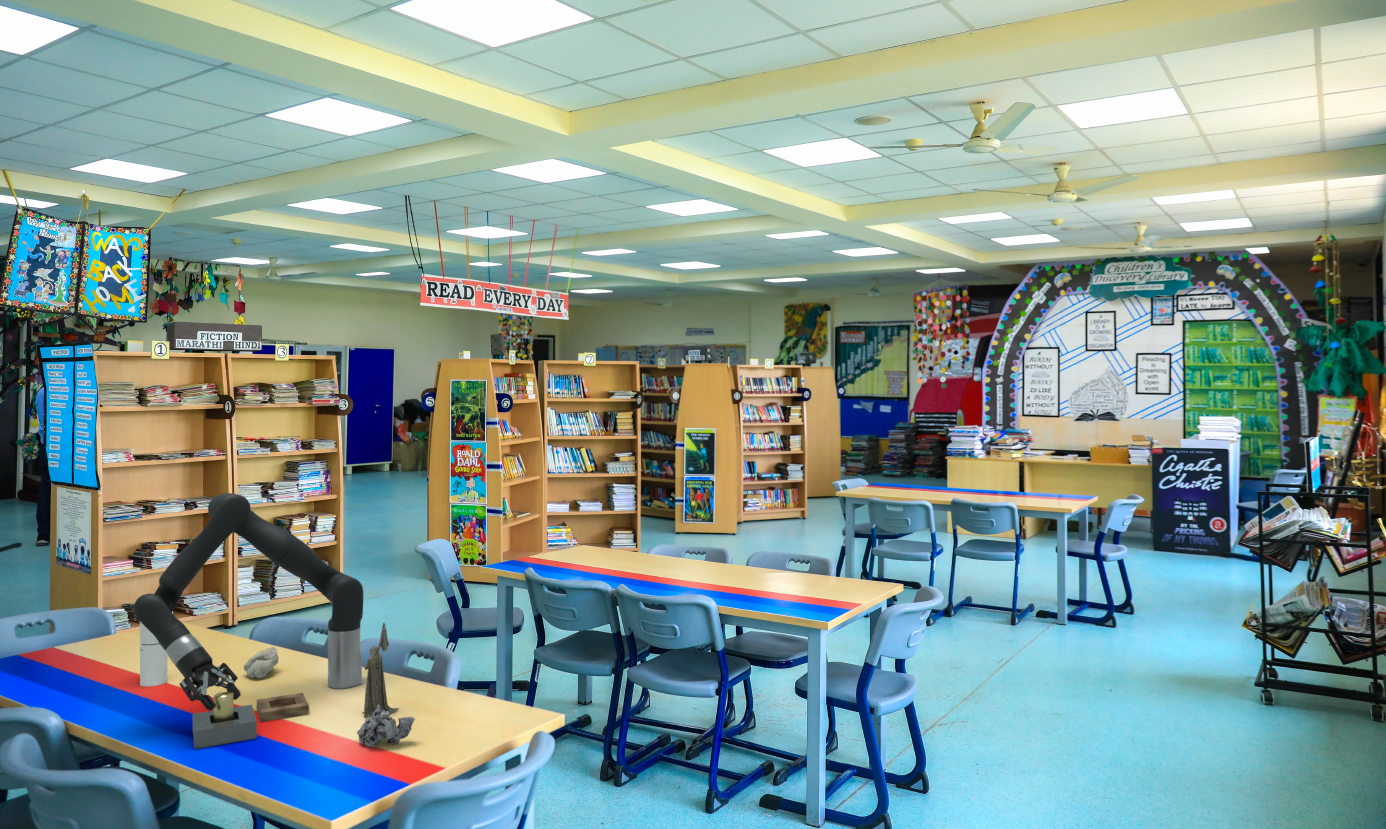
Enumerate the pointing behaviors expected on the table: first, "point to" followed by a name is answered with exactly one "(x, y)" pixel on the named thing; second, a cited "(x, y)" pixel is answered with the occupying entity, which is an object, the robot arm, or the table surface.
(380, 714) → the mineral specimen
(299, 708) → the walnut stand
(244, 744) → the table surface
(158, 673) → the cylindrical container
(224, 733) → the charcoal block
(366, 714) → the wizard figurine
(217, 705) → the brass peg
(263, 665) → the fossil replica
